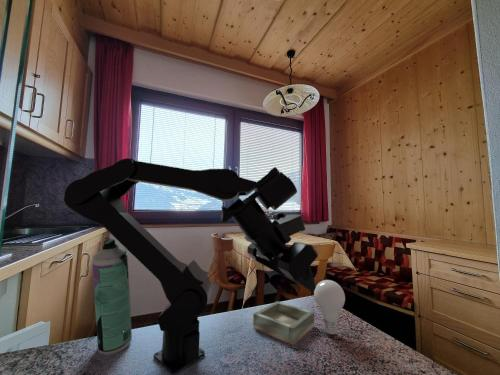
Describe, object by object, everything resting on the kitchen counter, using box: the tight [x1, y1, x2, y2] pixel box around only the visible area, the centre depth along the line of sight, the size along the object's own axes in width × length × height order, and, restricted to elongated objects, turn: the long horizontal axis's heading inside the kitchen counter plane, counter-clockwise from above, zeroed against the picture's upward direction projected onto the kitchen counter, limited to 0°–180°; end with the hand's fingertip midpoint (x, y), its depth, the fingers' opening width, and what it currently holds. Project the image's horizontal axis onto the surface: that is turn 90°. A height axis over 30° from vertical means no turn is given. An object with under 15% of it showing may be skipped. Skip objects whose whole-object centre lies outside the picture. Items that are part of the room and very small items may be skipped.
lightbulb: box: [313, 279, 346, 336], centre depth 48 cm, size 6×6×11 cm
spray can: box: [91, 238, 133, 356], centre depth 41 cm, size 6×6×20 cm
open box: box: [252, 300, 315, 346], centre depth 50 cm, size 10×10×3 cm
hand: (299, 282), depth 46 cm, fingers open, 9 cm apart
